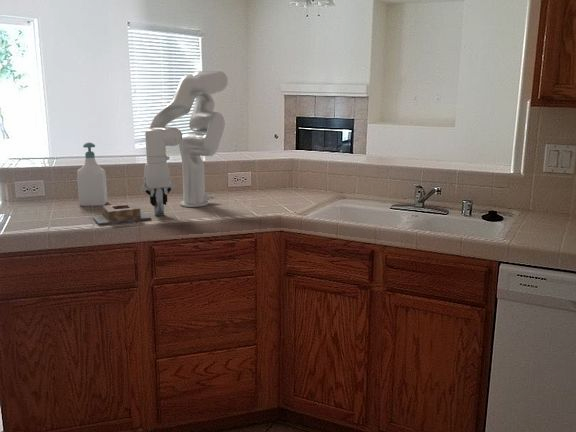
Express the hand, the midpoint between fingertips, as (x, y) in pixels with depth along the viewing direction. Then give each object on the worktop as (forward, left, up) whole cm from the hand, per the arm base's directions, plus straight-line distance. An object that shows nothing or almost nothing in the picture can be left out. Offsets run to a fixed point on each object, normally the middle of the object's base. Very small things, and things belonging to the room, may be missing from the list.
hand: (158, 204), depth 223 cm
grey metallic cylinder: (0, 0, -4) cm, 4 cm away
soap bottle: (+19, -36, -5) cm, 41 cm away
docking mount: (+15, 0, -5) cm, 16 cm away
